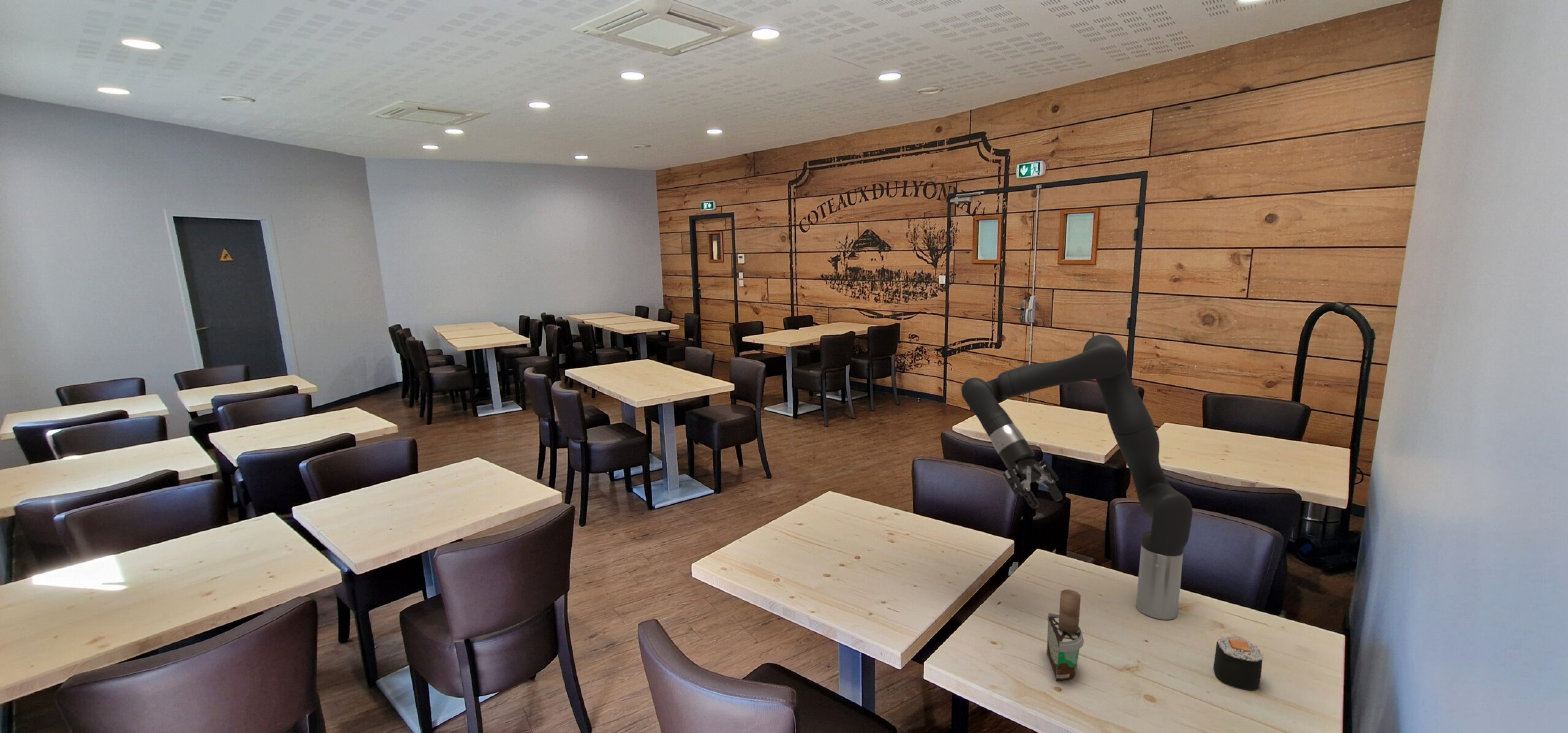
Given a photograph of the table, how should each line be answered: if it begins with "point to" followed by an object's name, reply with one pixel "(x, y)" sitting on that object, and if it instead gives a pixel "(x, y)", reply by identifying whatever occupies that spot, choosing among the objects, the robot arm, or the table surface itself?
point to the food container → (1062, 649)
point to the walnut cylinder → (1069, 611)
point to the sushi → (1238, 663)
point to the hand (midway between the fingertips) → (1048, 503)
